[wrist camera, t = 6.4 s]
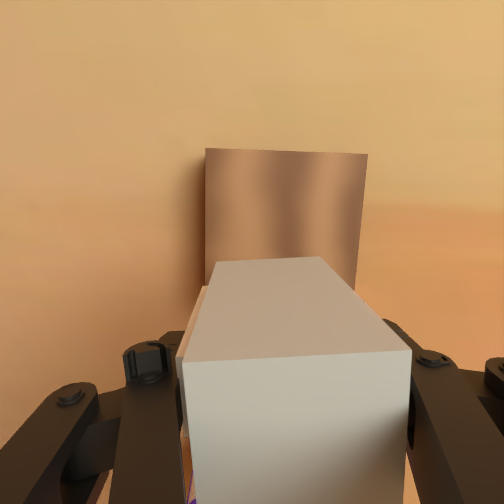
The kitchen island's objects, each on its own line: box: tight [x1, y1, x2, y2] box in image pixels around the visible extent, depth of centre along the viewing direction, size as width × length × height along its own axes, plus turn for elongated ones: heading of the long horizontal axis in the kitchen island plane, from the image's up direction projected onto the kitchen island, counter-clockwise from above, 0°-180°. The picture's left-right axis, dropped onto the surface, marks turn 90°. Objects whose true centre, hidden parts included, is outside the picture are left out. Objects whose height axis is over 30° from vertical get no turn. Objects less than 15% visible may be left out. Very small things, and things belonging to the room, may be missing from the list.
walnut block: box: [205, 148, 368, 290], centre depth 30 cm, size 13×13×5 cm
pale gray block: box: [182, 256, 412, 504], centre depth 12 cm, size 5×5×9 cm
